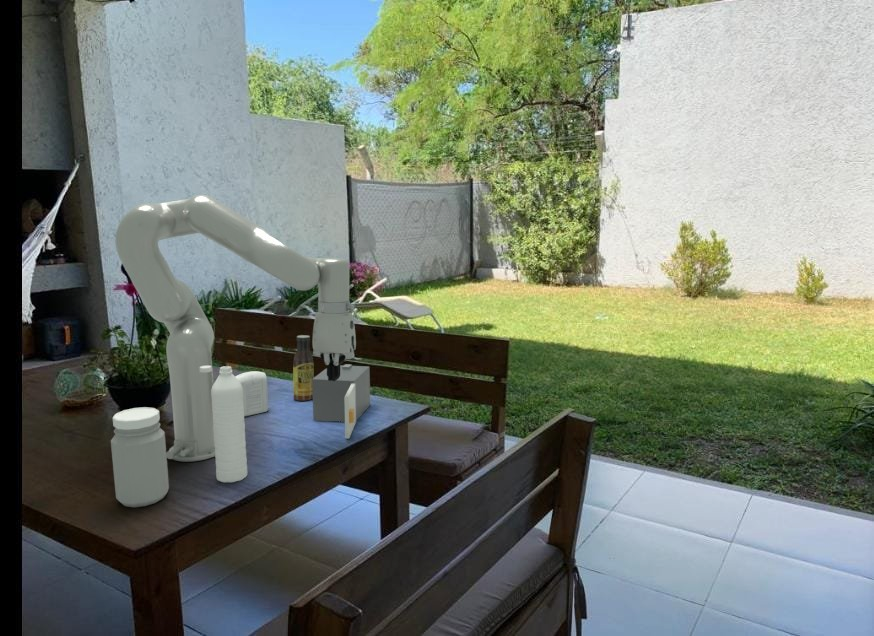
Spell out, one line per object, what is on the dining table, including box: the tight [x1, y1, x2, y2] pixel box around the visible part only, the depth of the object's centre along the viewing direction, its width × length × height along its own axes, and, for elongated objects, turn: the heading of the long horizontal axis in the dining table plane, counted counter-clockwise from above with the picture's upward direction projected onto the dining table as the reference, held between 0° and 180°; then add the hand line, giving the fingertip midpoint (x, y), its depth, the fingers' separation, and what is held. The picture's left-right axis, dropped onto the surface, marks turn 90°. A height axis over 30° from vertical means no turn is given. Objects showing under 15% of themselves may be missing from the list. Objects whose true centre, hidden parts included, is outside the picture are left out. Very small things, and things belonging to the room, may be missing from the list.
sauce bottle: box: [292, 334, 315, 402], centre depth 189 cm, size 7×6×20 cm
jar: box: [110, 406, 170, 508], centre depth 123 cm, size 10×10×18 cm
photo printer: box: [234, 370, 269, 417], centre depth 176 cm, size 10×4×12 cm, turn 134°
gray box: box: [312, 363, 371, 423], centre depth 177 cm, size 16×14×13 cm
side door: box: [344, 383, 357, 439], centre depth 162 cm, size 2×13×11 cm, turn 179°
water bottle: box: [200, 365, 248, 484], centre depth 133 cm, size 9×6×25 cm
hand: (333, 379), depth 155 cm, fingers closed
